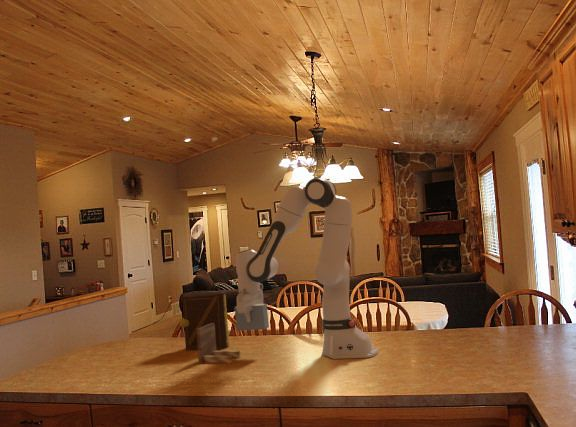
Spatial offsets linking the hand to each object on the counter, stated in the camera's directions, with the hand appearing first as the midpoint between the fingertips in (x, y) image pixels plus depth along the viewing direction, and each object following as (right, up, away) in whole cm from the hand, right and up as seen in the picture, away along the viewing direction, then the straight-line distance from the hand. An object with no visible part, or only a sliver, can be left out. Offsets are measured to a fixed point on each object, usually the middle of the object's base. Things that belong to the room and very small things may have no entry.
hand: (252, 320), depth 227 cm
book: (-23, -17, +20) cm, 35 cm away
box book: (0, -4, 0) cm, 4 cm away
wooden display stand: (-12, -15, -5) cm, 20 cm away
